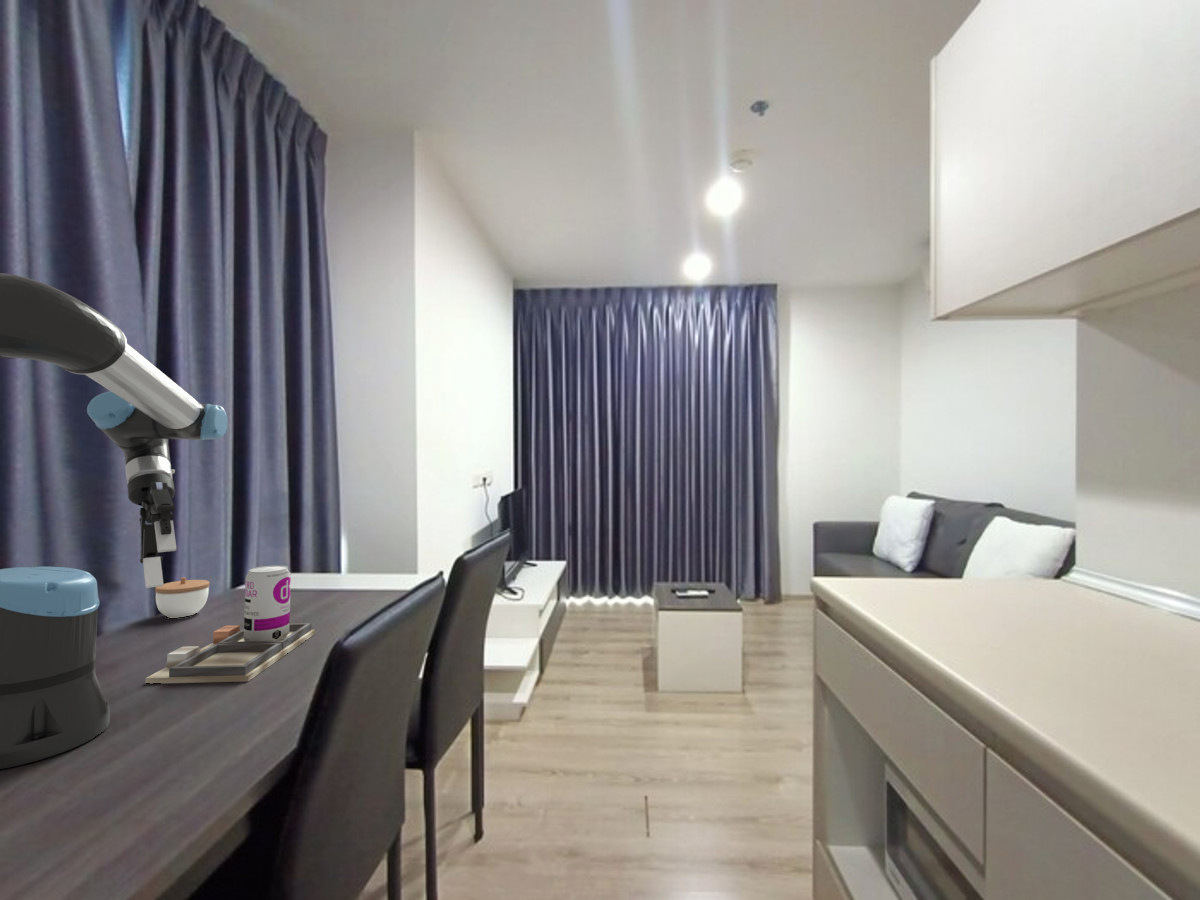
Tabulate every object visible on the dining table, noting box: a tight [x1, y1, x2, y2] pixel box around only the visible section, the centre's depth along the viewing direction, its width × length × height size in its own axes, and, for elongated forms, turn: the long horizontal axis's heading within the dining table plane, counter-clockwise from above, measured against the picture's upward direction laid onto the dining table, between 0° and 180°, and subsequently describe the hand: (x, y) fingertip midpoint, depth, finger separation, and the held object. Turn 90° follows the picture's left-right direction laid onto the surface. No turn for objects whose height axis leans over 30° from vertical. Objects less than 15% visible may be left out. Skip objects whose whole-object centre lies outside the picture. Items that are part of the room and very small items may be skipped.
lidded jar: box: [154, 577, 210, 619], centre depth 132 cm, size 11×11×9 cm
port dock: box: [144, 622, 316, 685], centre depth 105 cm, size 26×17×4 cm, turn 5°
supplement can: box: [243, 565, 292, 641], centre depth 112 cm, size 8×8×15 cm
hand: (160, 569), depth 103 cm, fingers open, 13 cm apart
